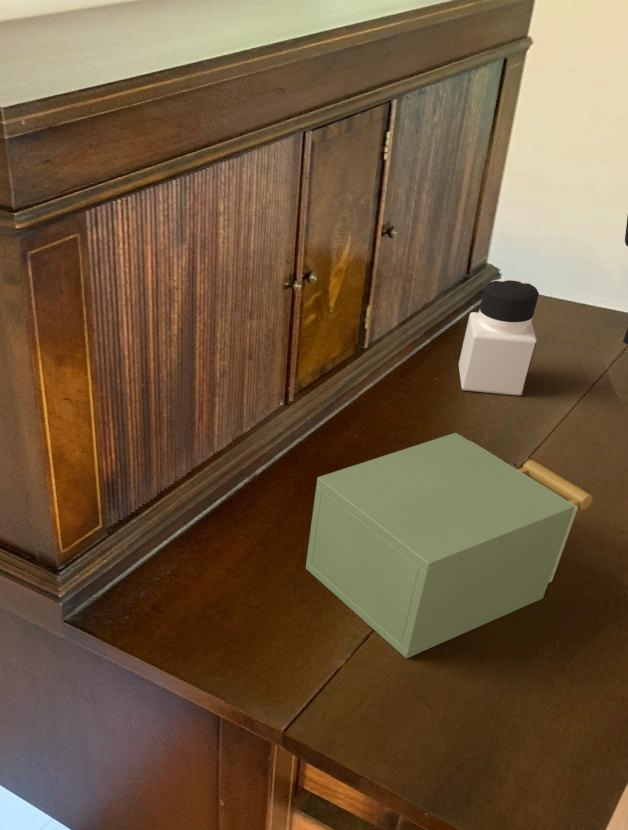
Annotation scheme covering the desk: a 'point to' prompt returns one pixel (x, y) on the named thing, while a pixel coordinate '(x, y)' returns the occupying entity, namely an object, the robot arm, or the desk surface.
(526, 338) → the medicine bottle
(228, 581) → the desk surface
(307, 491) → the desk surface
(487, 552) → the cabinet
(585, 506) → the drawer
